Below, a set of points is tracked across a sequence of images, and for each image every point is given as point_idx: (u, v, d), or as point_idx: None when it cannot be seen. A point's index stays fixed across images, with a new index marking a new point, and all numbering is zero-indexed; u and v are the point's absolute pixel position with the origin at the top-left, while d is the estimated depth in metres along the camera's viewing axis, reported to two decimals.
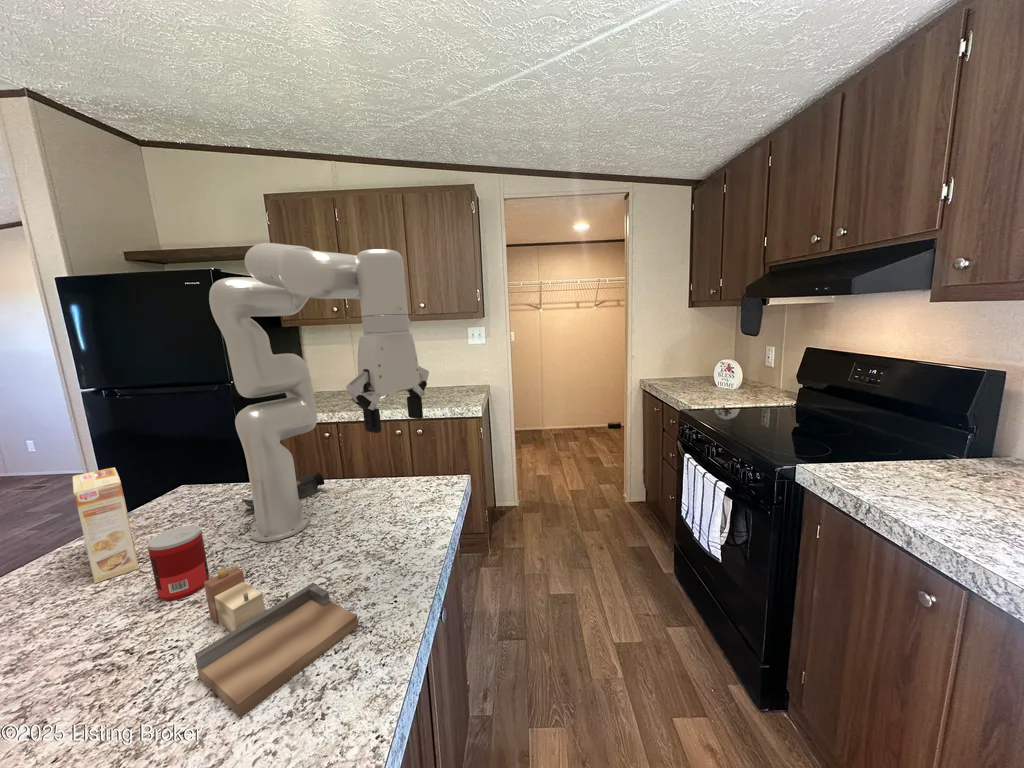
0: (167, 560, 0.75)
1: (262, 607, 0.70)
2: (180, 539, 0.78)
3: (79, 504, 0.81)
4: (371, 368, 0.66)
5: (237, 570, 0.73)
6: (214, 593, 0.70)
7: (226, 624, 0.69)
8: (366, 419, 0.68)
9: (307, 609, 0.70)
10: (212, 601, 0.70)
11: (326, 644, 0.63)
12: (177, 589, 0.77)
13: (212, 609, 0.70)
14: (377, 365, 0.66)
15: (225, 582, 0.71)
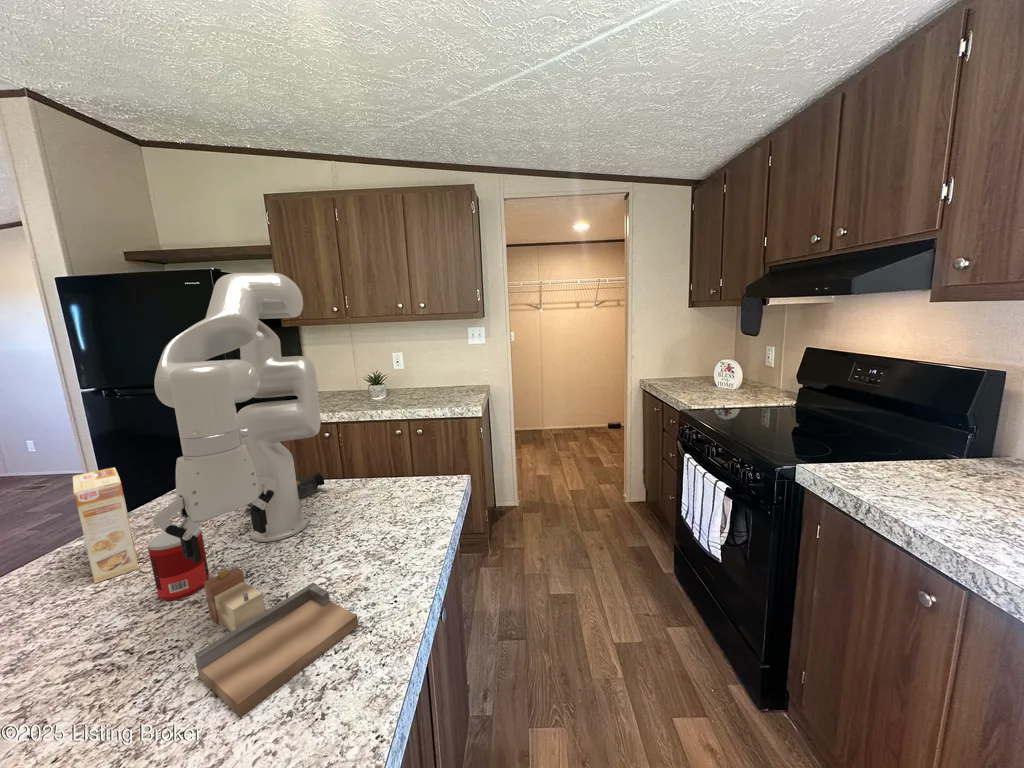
0: (167, 560, 0.75)
1: (262, 607, 0.70)
2: None
3: (79, 504, 0.81)
4: (185, 495, 0.61)
5: (237, 570, 0.73)
6: (214, 593, 0.70)
7: (226, 624, 0.69)
8: (183, 548, 0.62)
9: (307, 609, 0.70)
10: (212, 602, 0.70)
11: (326, 644, 0.63)
12: (177, 589, 0.77)
13: (212, 609, 0.70)
14: (191, 491, 0.61)
15: (225, 582, 0.71)
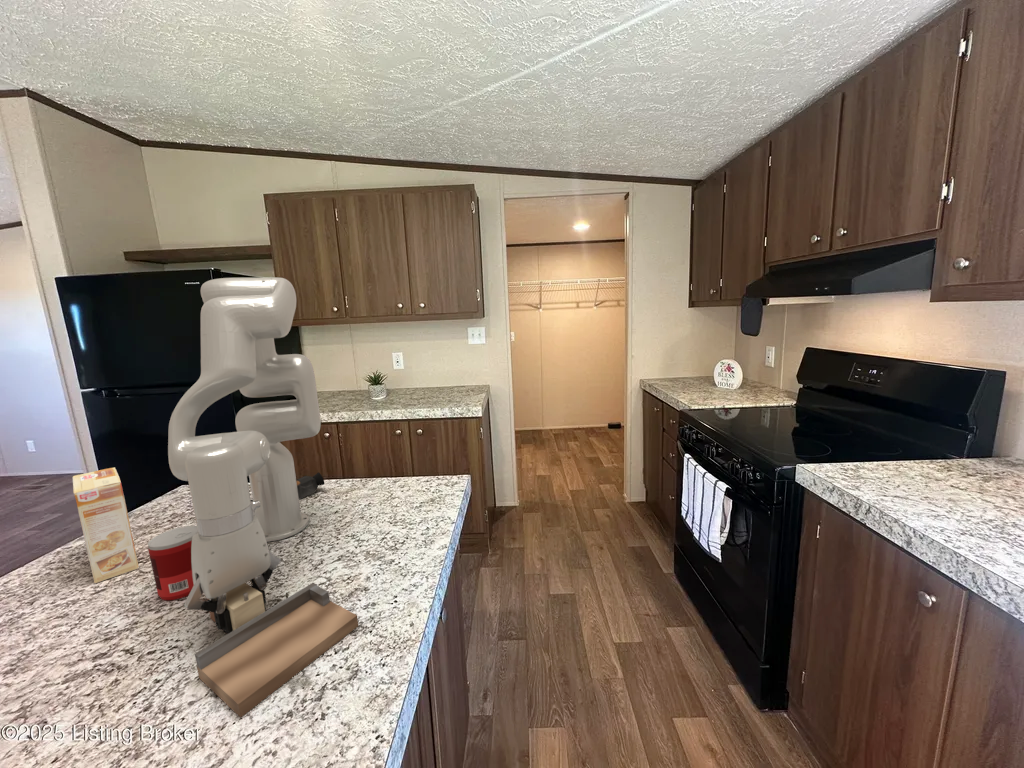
0: (167, 560, 0.75)
1: (262, 607, 0.70)
2: (180, 539, 0.78)
3: (79, 504, 0.81)
4: (201, 574, 0.64)
5: None
6: None
7: None
8: (216, 620, 0.67)
9: (307, 609, 0.70)
10: None
11: (326, 644, 0.63)
12: (177, 589, 0.77)
13: None
14: (207, 570, 0.64)
15: None
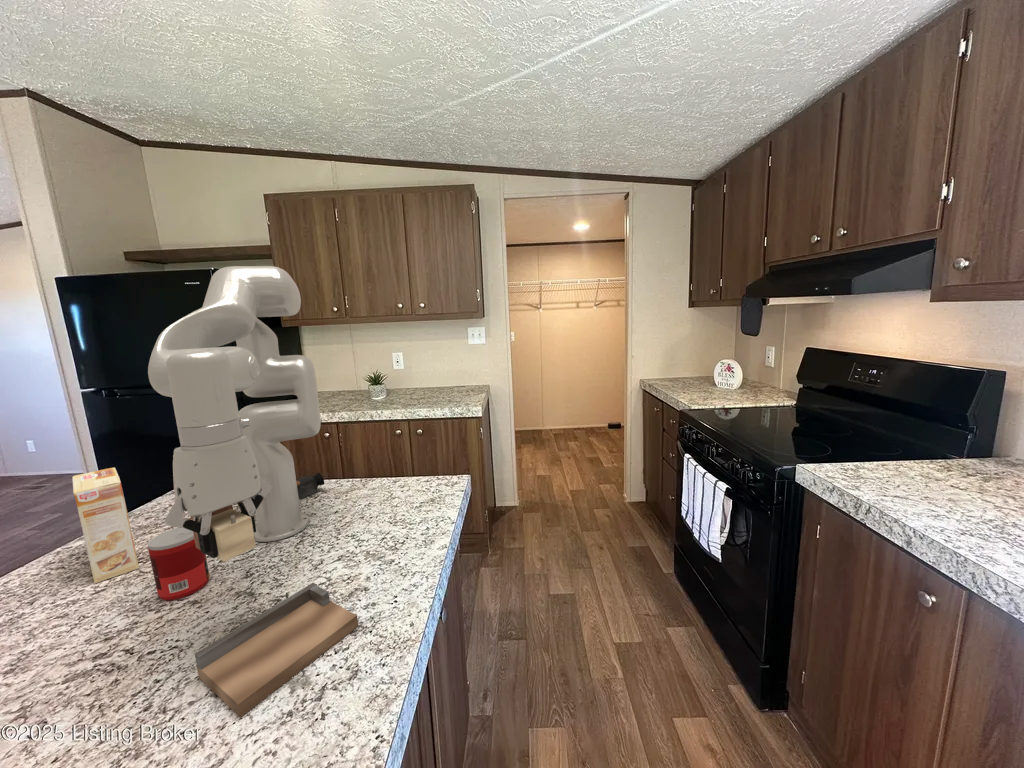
0: (167, 560, 0.75)
1: (251, 532, 0.64)
2: (180, 539, 0.78)
3: (79, 504, 0.81)
4: (183, 488, 0.58)
5: None
6: None
7: None
8: (200, 543, 0.61)
9: (307, 609, 0.70)
10: None
11: (326, 644, 0.63)
12: (177, 589, 0.77)
13: (197, 535, 0.65)
14: (189, 484, 0.58)
15: None
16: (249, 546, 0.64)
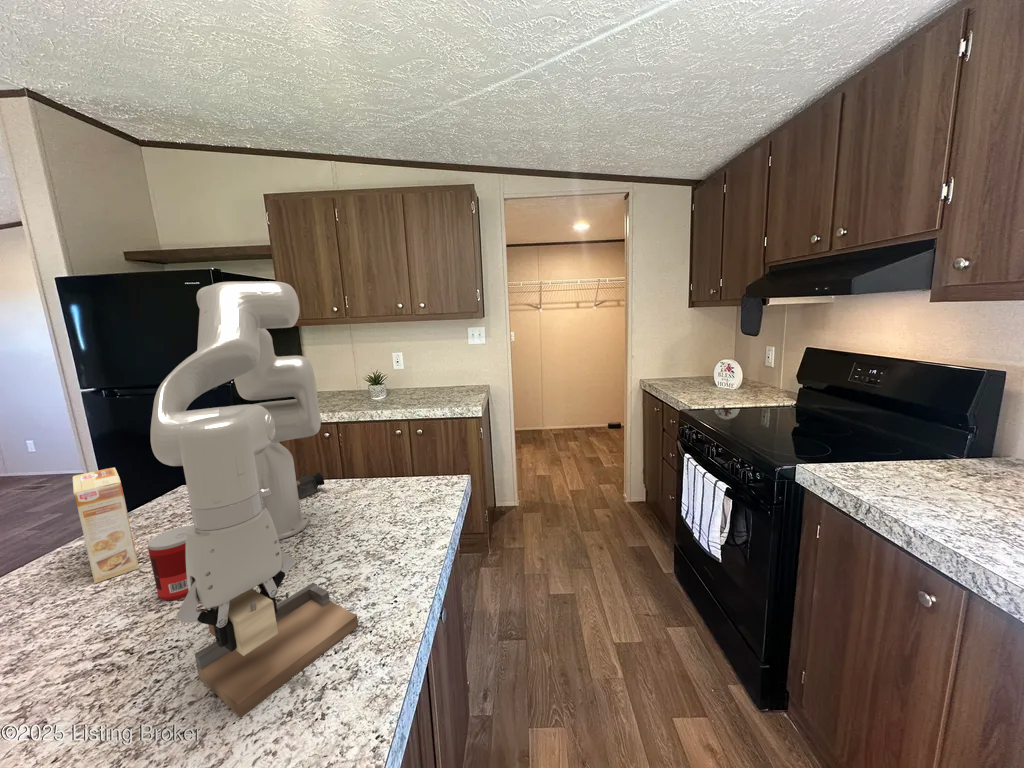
0: (167, 560, 0.75)
1: (273, 618, 0.57)
2: (180, 539, 0.78)
3: (79, 504, 0.81)
4: (197, 578, 0.51)
5: None
6: None
7: None
8: (217, 635, 0.54)
9: (307, 609, 0.70)
10: None
11: (326, 644, 0.63)
12: (177, 589, 0.77)
13: None
14: (205, 573, 0.51)
15: None
16: (271, 633, 0.57)
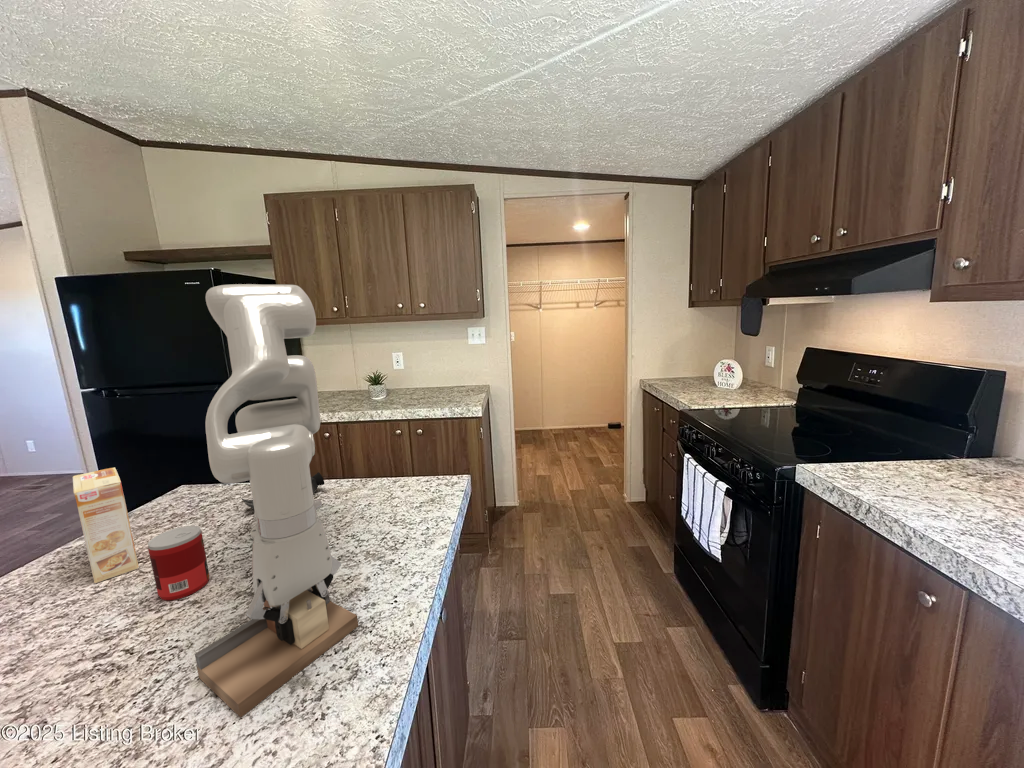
0: (167, 560, 0.75)
1: (325, 615, 0.64)
2: (180, 539, 0.78)
3: (79, 504, 0.81)
4: (264, 580, 0.58)
5: None
6: None
7: None
8: (278, 630, 0.61)
9: None
10: None
11: (326, 644, 0.63)
12: (177, 589, 0.77)
13: None
14: (271, 576, 0.58)
15: None
16: (323, 629, 0.64)
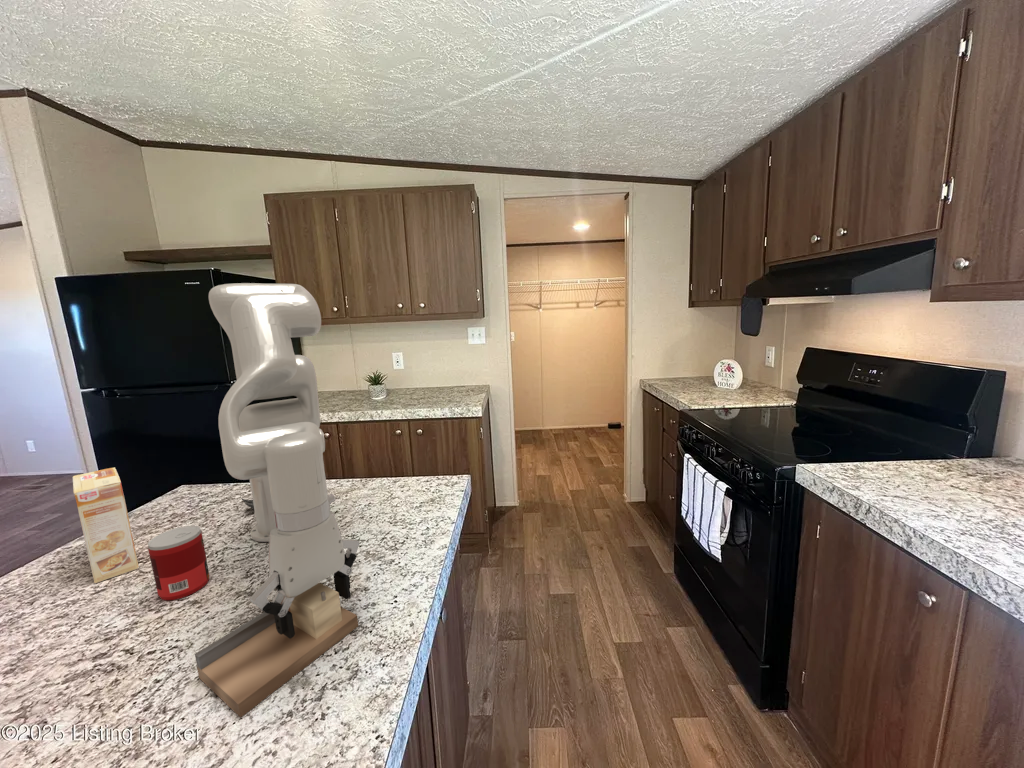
0: (167, 560, 0.75)
1: (338, 607, 0.66)
2: (180, 539, 0.78)
3: (79, 504, 0.81)
4: (281, 572, 0.60)
5: None
6: None
7: (302, 625, 0.65)
8: (277, 624, 0.61)
9: None
10: None
11: (326, 644, 0.63)
12: (177, 589, 0.77)
13: None
14: (287, 568, 0.60)
15: None
16: (337, 620, 0.66)
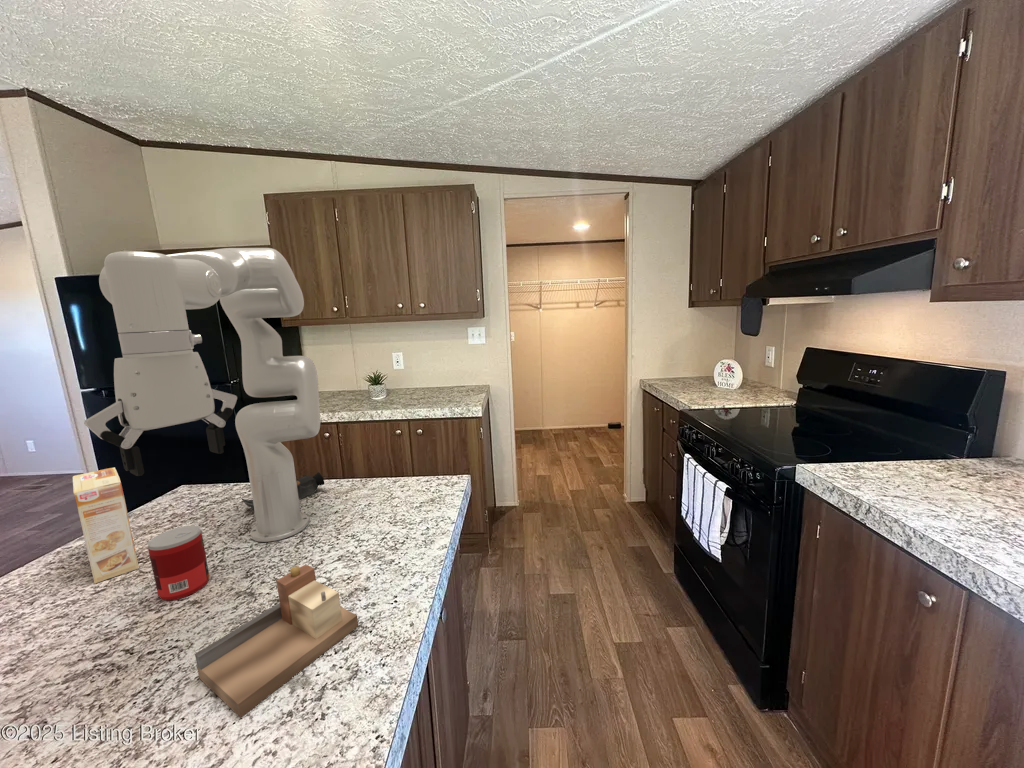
0: (167, 560, 0.75)
1: (338, 607, 0.66)
2: (180, 539, 0.78)
3: (79, 504, 0.81)
4: (123, 398, 0.54)
5: (308, 568, 0.69)
6: (288, 592, 0.66)
7: (302, 625, 0.65)
8: (123, 459, 0.55)
9: None
10: (285, 601, 0.66)
11: (326, 644, 0.63)
12: (177, 589, 0.77)
13: (286, 609, 0.66)
14: (130, 393, 0.54)
15: (298, 580, 0.67)
16: (337, 620, 0.66)
